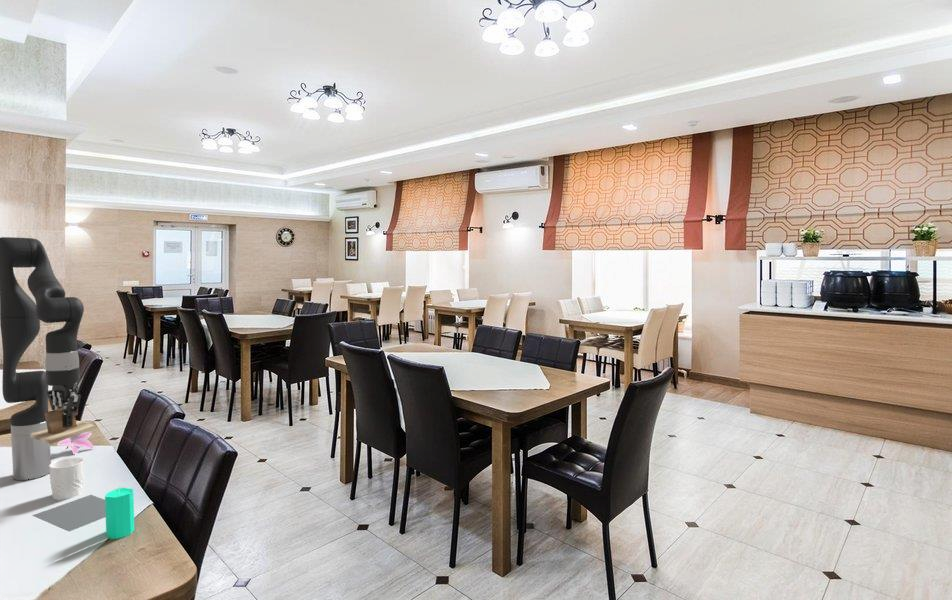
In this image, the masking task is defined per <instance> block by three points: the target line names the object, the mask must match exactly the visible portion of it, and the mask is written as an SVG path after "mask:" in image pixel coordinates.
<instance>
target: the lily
mask: <svg viewBox="0 0 952 600" xmlns="http://www.w3.org/2000/svg"><path fill="white" fill-rule="evenodd" d="M92 434H93V433H92V432H89V431H87V432H84V433H81V434H78V435H75V436H73V437H70V438H67V439H64V440H61V441H58V442H57V445H56V446H58V447H66V449H67V450H68V448H69V447H70V449H71V452H72V453H73V455H74V453H77V454H78V453H79V450H80V449H81V448H84V449H89V450H94V449H95V446H94V445H93V444H92V442H91V441H90V440H89V439H88V438H90V436H92ZM93 448H94V449H93ZM66 449H65V450H66Z"/></svg>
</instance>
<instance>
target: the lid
mask: <svg viewBox="0 0 952 600" xmlns="http://www.w3.org/2000/svg"><path fill="white" fill-rule="evenodd" d="M75 413H76V412H74V413H72V418H73V425H72V426H71V427H67V428H64V427H63V417H62V415H63V414H62V408H59V409H56V410H50V411H48V412H46V413H45V418H46V423H47V429H44V430H41V431H38V432H35V433H32V434H30V437H31V438H34V439H37V440H40V441H43V442H46V443H50V445H53V444H55V443H58V442H59V441H61V440H64V439H67V438H70V437H73V436H75V435H78V434H81V433H84V432H89V431H92V430H95V429H96V425H94V424H90V423H87V422H83V421H79V420H76V419H77V418H76V414H75Z"/></svg>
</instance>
